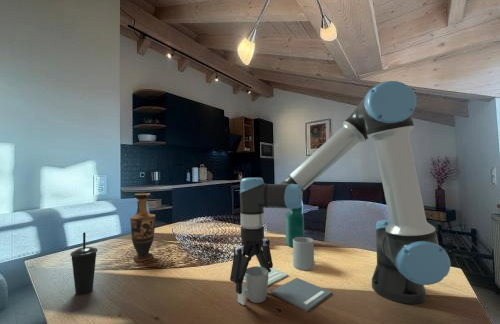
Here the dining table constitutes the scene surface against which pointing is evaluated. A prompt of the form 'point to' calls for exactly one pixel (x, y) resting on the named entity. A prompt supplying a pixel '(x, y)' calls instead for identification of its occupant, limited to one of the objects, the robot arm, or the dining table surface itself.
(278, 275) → the pad green
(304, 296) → the pad slate
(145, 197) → the vase
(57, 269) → the dining table surface
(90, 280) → the drinking cup
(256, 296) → the cup
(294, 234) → the green bottle
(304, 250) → the mug
